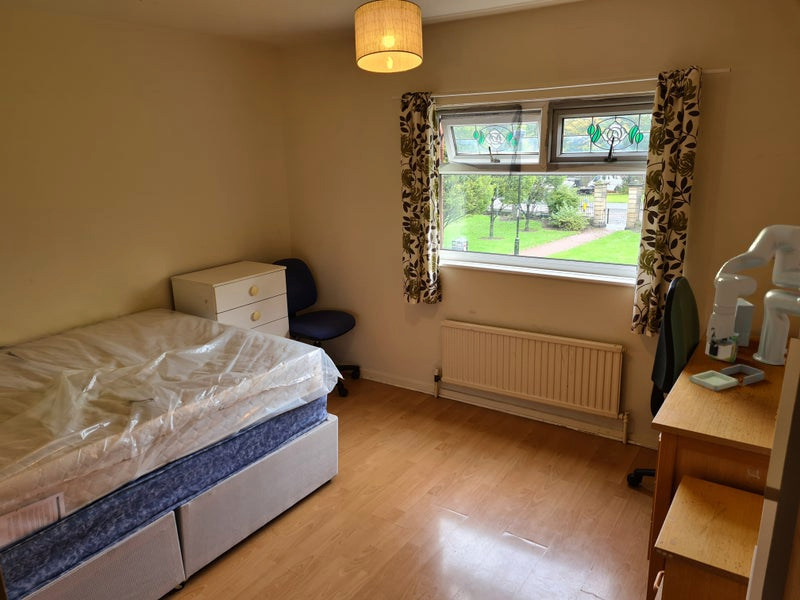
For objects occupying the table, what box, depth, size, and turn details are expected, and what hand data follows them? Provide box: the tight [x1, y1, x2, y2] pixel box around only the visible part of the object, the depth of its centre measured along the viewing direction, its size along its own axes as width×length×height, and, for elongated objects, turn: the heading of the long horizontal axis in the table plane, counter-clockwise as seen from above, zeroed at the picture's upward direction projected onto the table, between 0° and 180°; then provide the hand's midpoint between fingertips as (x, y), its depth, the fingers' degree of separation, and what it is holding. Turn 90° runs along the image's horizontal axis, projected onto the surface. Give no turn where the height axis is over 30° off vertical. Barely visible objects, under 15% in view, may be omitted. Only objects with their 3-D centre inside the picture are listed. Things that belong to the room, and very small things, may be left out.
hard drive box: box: [734, 297, 756, 347], centre depth 260 cm, size 16×8×20 cm, turn 168°
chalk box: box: [710, 332, 741, 363], centre depth 240 cm, size 9×9×15 cm
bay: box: [720, 363, 766, 386], centre depth 220 cm, size 13×10×3 cm
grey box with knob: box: [704, 337, 732, 359], centre depth 212 cm, size 5×7×7 cm
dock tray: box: [689, 370, 739, 392], centre depth 216 cm, size 13×11×2 cm
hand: (717, 353), depth 213 cm, fingers closed on grey box with knob, 5 cm apart
